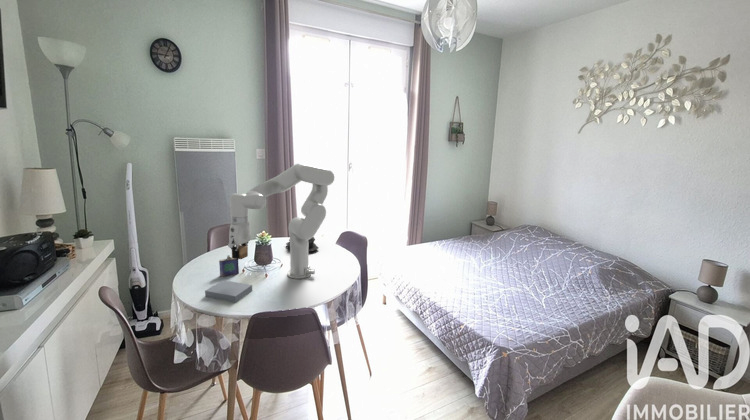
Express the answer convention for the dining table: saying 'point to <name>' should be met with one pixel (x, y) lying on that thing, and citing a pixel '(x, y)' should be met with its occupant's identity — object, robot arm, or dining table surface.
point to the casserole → (311, 244)
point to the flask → (228, 266)
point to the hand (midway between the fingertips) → (239, 256)
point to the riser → (228, 291)
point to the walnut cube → (242, 251)
